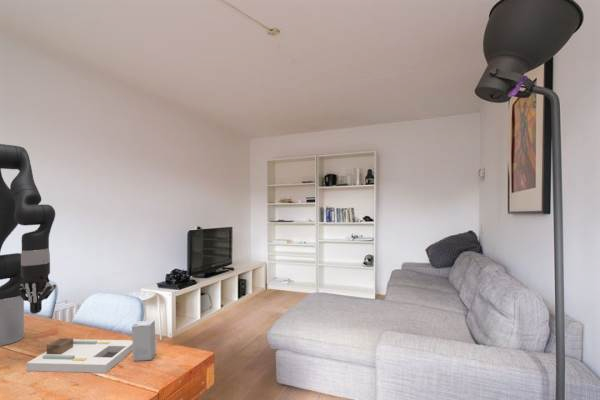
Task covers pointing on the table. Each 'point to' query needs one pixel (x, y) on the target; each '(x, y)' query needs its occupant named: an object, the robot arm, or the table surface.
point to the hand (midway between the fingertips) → (36, 312)
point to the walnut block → (60, 346)
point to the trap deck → (84, 357)
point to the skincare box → (143, 340)
